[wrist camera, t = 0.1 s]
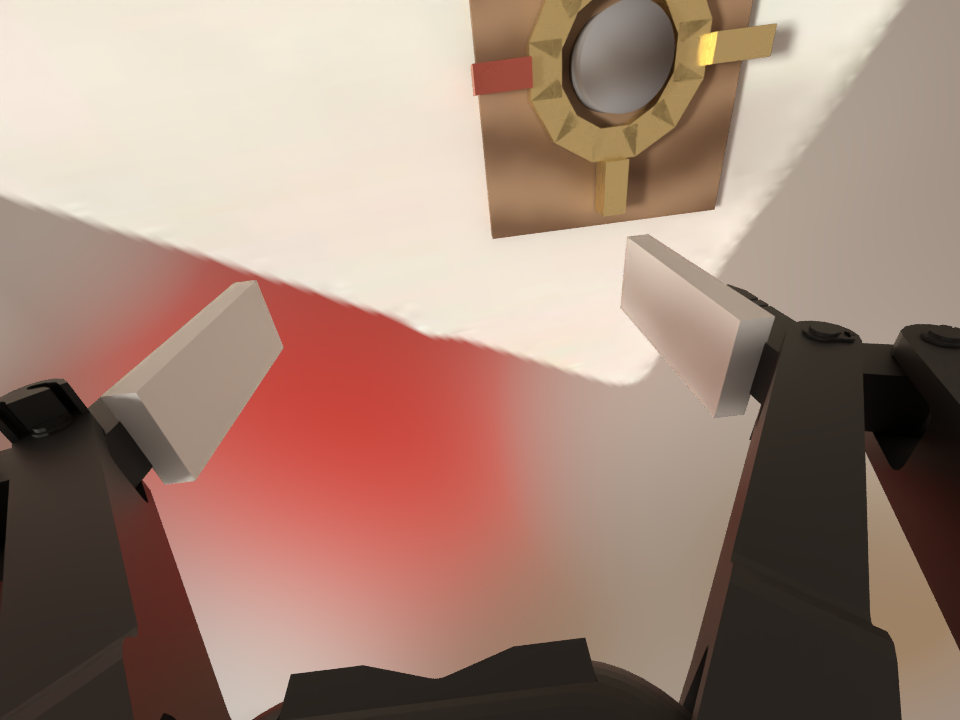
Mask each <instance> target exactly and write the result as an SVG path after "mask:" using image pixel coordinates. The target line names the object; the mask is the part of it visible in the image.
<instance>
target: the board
mask: <svg viewBox="0 0 960 720" xmlns="http://www.w3.org/2000/svg"><path fill="white" fill-rule="evenodd" d="M752 2H753V0H707V3H708V7H709V10H710V13H711V16H712V25H711V32H710V33H713V32H717V31H724V30H731V29H739V28H746V27H748V24H749V18H750V13H751V8H752ZM469 3H470V13H471V24H472V34H473V45H474V55H475V63H482V62H490V61H498V60H505V59H513V58H520V57H526V43H527V41H528V38H529V36H530V33H531V31H532V28H533V25H534V23H535V20H536V18H537V15H538V13H539V10H540V8H541V5H542V3H543V0H469ZM674 49H675V41H674V33H673V28H672V25H671V22H670V20H669V18H668V16H667V15H666V13H665V12H664V10H663V9H662V8H661V7H660V6H659V5H657V4H656V3H654V2H653V1H651V0H592V1H590V2H589V3H588V4H587V5H586V6H585V7H584V8H582V9H581V10H580V11H579V12H578V13H577V16H576V18H575V20H574V23H573V25H572V27H571V30H570V32H569V34H568V36H567V39H566V41H565V43H564V46H563V48H562V88H563V90H564V92H565V94H566V96H567V98H568V100H569V101H570V103H571V105H572V107H573V109H574V111H575V113H576V115H577V116H579V117H581V118H583V119H584V120H586V121H588V122H590V123H592V124H594V125H595V126H597V127H604V126H612V125H619V124H624V123H625V122H626V121H627V120H629V119H630V118H631V117H633V116H634V115H635V114H637V113H638V112H639V111H640V110H642V109H643V108H644V107H646V106H647V105H648V104H649V102H650V100H652V99H653V97H654V96H655V95H656V94H657V93H658V92H659V90H660V89H661V88H662V86H663V84H664V83H665V81H666V79H667V77H668V75H669V72H670V69H671V66H672V62H673V57H674ZM741 62H742V60H740V61H733V62H725V63H718V64H710V65H706V66H705V72H704V79H703V80H702V82H701V84H700V85H699V87H698V89H697V90H696V92H695V94H694V96H693V97H692V99H691V101H690V102H689V104H688V106H687V108H686V109H685V111H684V113H683V114H682V116H681V118H680V119H679V121H678V123H677V125H676V126H675V128H673V129H672V130H670V131H669V132H668V133H666V134H665V135H664V136H662V137H661V138H660V139H658V140H657V141H656V142H654V143H653V144H651V145H650V146H649V147H647V148H646V149H645V150H643V151H642V152H641V153H639V154H638V155H637V156H635V157H628V158H627V159H629V171H628V184H627V198H626V212H625V214H619V215H611V216H604V217H603V216H602V215H601V214H599V213H598V212H597V211H595V190H596V162H590V161H588V160H586V159H584V158H582V157H580V156H578V155H576V154H574V153H572V152H570V151H568V150H566V149H564V148H562V147H560V146H559V145H557V144H555V143H553V142H551V141H550V139H549V137H548V136H547V134H546V132H545V130H544V128H543V127H542V125H541V123H540V121H539V120H538V118H537V116H536V114H535V113H534V111H533V109H532V107H531V106H530V104H529V102H528V90H527V89H521V90H514V91H506V92H499V93H491V94H484V95H478V97H479V107H480V117H481V128H482V138H483V149H484V159H485V169H486V180H487V190H488V201H489V211H490V221H491V232H492V237H493V239H496V238H503V237H511V236H518V235H526V234H533V233H541V232H548V231H556V230H564V229H571V228H579V227H586V226H594V225H601V224H609V223H616V222H624V221H631V220H639V219H646V218H654V217H662V216H669V215H677V214H684V213H692V212H699V211H707V210H714V209H715V203H716V198H717V193H718V187H719V182H720V176H721V171H722V165H723V160H724V154H725V149H726V144H727V138H728V133H729V127H730V122H731V116H732V111H733V106H734V100H735V95H736V89H737V84H738V78H739V73H740V67H741Z"/></svg>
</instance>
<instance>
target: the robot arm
mask: <svg viewBox="0 0 960 720" xmlns="http://www.w3.org/2000/svg"><path fill="white" fill-rule="evenodd" d="M620 308H621V309H622V310H623V311H624V313H625V314H626V315H627V316H628V317H629V318H630V320H631V321H632V322H633V323H634V324H635V326H636V327H637V328H638V329H639V330H640V331H641V333H642V334H643V335H644V336H645V337H646V338H647V340H648V341H649V342H650V343H651V344H652V346H653V347H654V348H655V349H656V350H657V351H658V353H659V354H660V355H661V356H662V357H663V358H664V359H665V361H666V362H667V363H668V364H669V365H670V367H671V368H672V369H673V370H674V371H675V373H676V374H677V375H678V376H679V377H680V378H681V380H682V381H683V382H684V383H685V384H686V385H687V387H688V388H689V389H690V390H691V391H692V393H693V394H694V395H695V396H696V397H697V398H698V400H699V401H700V402H701V403H702V404H703V405H704V407H705V408H706V409H707V410H708V411H709V412H710V414H711V415H712V416H713V417H714V418H719V417H728V416H735V415H744V414H745V411H746V407H747V404H748V401H749V398H750V395H752V396H753V397H754V398H755V399H756V400H757V401H758V402H759V403H760V404H761V407H760V410H759V413H758V416H757V419H756V422H755V425H754V428H753V431H752V433H751V437H750V440H751V442H750V445H749V449H748V453H747V457H746V460H745V464H744V468H743V472H742V475H741V479H740V483H739V487H738V490H737V494H736V498H735V501H734V505H733V509H732V513H731V516H730V520H729V524H728V528H727V531H726V535H725V539H724V543H723V546H722V550H721V554H720V558H719V561H718V565H717V569H716V572H715V577H714V580H713V584H712V588H711V591H710V595H709V599H708V602H707V606H706V610H705V614H704V617H703V621H702V625H701V629H700V632H699V636H698V640H697V643H696V647H695V651H694V654H693V658H692V662H691V665H690V669H689V671H688V675H687V678H686V681H685V684H684V687H683V691H682V694H681V697H680V701H679V703H678V702H677V701H675V700H674V699H673V698H672V697H670V696H669V695H668V694H666V693H665V692H664V691H662V690H661V689H659V688H658V687H656V686H655V685H653V684H651V683H649V682H648V681H646V680H645V679H643V678H641V677H639V676H637V675H635V674H633V673H631V672H629V671H626V670H624V669H622V668H619V667H615V666H612V665H609V664H606V663H602V662H597V661H592V660H591V658H590V654H589V650H588V647H587V643H586V639H585V638H579V639H570V640H562V641H554V642H547V643H539V644H530V645H523V646H514V647H512V648H509V649H507V650H505V651H502V652H500V653H498V654H496V655H493V656H491V657H489V658H487V659H484V660H482V661H480V662H478V663H476V664H473V665H471V666H469V667H466V668H464V669H462V670H460V671H457V672H455V673H453V674H450V675H448V676H446V677H443V678H439V679H431V678H426V677H421V676H415V675H410V674H405V673H400V672H395V671H390V670H384V669H379V668H374V667H369V666H364V665H362V666H355V667H347V668H338V669H331V670H323V671H314V672H306V673H298V674H291V676H290V680H289V683H288V687H287V691H286V695H285V698H284V702H281V703H279V704H277V705H275V706H274V707H272V708H270V709H269V710H267V711H265V712H263V713H262V714H260V715H258V716H257V717H256V718H254V719H253V720H902V719H901V707H900V692H899V678H898V665H897V658H896V652H895V646H894V643H893V641H892V639H891V637H890V635H889V634H888V632H887V631H884V630H882V629H880V628H878V627H875V626H873V625H872V623H871V617H870V600H869V568H868V567H869V566H868V531H867V497H866V463H865V452H866V454H867V456H868V458H869V460H870V462H871V464H872V466H873V469H874V471H875V473H876V475H877V477H878V479H879V481H880V483H881V485H882V488H883V490H884V492H885V494H886V496H887V498H888V500H889V502H890V504H891V506H892V509H893V511H894V513H895V515H896V517H897V519H898V521H899V523H900V525H901V527H902V530H903V532H904V534H905V536H906V538H907V540H908V542H909V544H910V547H911V549H912V551H913V553H914V555H915V557H916V559H917V561H918V563H919V565H920V568H921V570H922V572H923V574H924V576H925V578H926V580H927V582H928V585H929V587H930V588H931V591H932V593H933V595H934V597H935V599H936V601H937V603H938V606H939V608H940V610H941V612H942V614H943V616H944V618H945V620H946V622H947V624H948V627H949V629H950V631H951V633H952V635H953V637H954V639H955V641H956V644H957V645H958V648H959V650H960V328H956V327H955V328H952V326H947V325H939V326H938V325H931V324H915V325H910V326H906V327H904V328H903V329H902V330H901V331H900V333H899V335H898V337H897V339H896V342H895V343H894V345H889V344H868V343H862V340H861V339H860V337H859V335H857V334H856V333H854V332H853V331H851V330H849V329H847V328H844V327H842V326H839V325H835V324H831V323H827V322H819V321H799V322H796V321H794V320H792V319H791V318H789V317H788V316H786V315H784V314H783V313H781V312H779V311H778V310H776V309H775V308H773V307H771V306H768V304H767V303H765V302H764V301H762V300H758V298H757V297H756V296H754V295H752V294H751V293H749V292H748V291H746V290H743V289H740V288H737V287H734V286H731V285H726V284H724V283H723V282H721V281H720V280H718V279H717V278H715V277H713V276H712V275H710V274H709V273H707V272H706V271H704V270H703V269H701V268H700V267H698V266H696V265H695V264H693V263H692V262H690V261H689V260H687V259H686V258H684V257H683V256H681V255H680V254H678V253H676V252H675V251H673V250H672V249H670V248H669V247H667V246H666V245H664V244H663V243H661V242H660V241H658V240H656V239H655V238H653V237H652V236H650V235H649V234H647V235H638V236H630V237H627V242H626V253H625V264H624V274H623V285H622V296H621V307H620ZM282 349H283V345H282V343H281V340H280V338H279V335H278V333H277V330H276V328H275V325H274V323H273V320H272V318H271V315H270V313H269V311H268V308H267V306H266V303H265V301H264V298H263V296H262V293H261V291H260V288H259V286H258V283H257V281H256V280H254V281H245V282H237V283H234V284H232V285H231V286H230V287H229V288H228V289H226V291H224V292H223V293H222V294H221V295H219V296H218V297H217V298H216V299H215V300H214V301H212V302H211V303H210V304H209V305H208V306H206V307H205V308H204V309H203V310H202V311H201V312H199V314H197V315H196V316H195V317H194V318H192V319H191V320H190V321H189V322H188V323H187V324H185V325H184V326H183V327H182V328H181V329H180V330H178V331H177V332H176V333H175V334H174V335H172V336H171V337H170V338H169V339H168V340H167V341H166V342H164V343H163V344H162V345H161V346H159V347H158V348H157V349H156V350H155V351H154V352H152V353H151V354H150V355H149V356H148V357H147V358H145V359H144V360H143V361H142V362H141V363H139V364H138V365H137V366H136V367H135V368H134V369H132V370H131V371H130V372H129V373H128V374H127V375H125V376H124V377H123V378H122V379H121V380H119V381H118V382H117V383H116V384H115V385H114V386H112V387H111V388H110V389H109V390H108V391H107V392H105V393H104V394H103V395H102V396H101V397H100V398H99V399H98V400H97V401H96V402H95V403H93V404H92V405H91V406H90V407H89V408H87V407H86V406H85V405H84V403H83V402H82V401H81V399H80V398H79V397H78V396H77V394H76V393H75V392H74V390H73V389H72V388H71V386H70V385H69V384H68V383H67V382H66V381H65V380H64V379H49V380H44V381H40V382H36V383H33V384H30V385H26V386H24V387H22V388H19V389H17V390H14V391H12V392H10V393H8V394H6V395H4V396H2V397H0V431H1V432H2V433H3V434H4V435H5V436H6V437H7V439H8V440H9V441H10V442H11V443H12V448H10V449H7V450H3V451H0V720H231V718H230V716H229V713H228V711H227V708H226V705H225V702H224V699H223V697H222V694H221V691H220V688H219V685H218V682H217V679H216V677H215V674H214V671H213V668H212V665H211V662H210V659H209V657H208V654H207V651H206V648H205V645H204V642H203V639H202V637H201V634H200V631H199V628H198V625H197V622H196V619H195V616H194V614H193V611H192V608H191V605H190V602H189V599H188V597H187V594H186V591H185V588H184V586H183V582H182V579H181V576H180V573H179V571H178V568H177V565H176V562H175V559H174V556H173V554H172V551H171V548H170V545H169V542H168V539H167V537H166V534H165V531H164V528H163V525H162V522H161V519H160V517H159V513H158V511H157V508H156V505H155V502H154V499H153V496H152V493H151V490H150V489H149V488H148V487H147V485H146V484H145V483H144V481H143V480H142V479H143V478H144V477H145V476H146V474H147V473H148V472H149V471H150V469H151V468H153V469H154V471H155V472H156V473H157V475H158V476H159V477H160V479H161V480H162V482H163V483H164V484H173V483H182V482H190V481H195V480H196V479H197V477H198V476H199V474H200V473H201V471H202V470H203V468H204V467H205V465H206V464H207V462H208V461H209V459H210V458H211V456H212V455H213V453H214V452H215V450H216V449H217V447H218V446H219V444H220V443H221V441H222V440H223V438H224V437H225V435H226V434H227V432H228V431H229V429H230V428H231V426H232V425H233V423H234V422H235V420H236V419H237V417H238V416H239V414H240V413H241V411H242V410H243V408H244V406H245V405H246V403H247V402H248V401H249V399H250V398H251V396H252V395H253V393H254V392H255V390H256V388H257V387H258V385H259V384H260V382H261V381H262V379H263V378H264V376H265V375H266V373H267V372H268V370H269V369H270V367H271V366H272V364H273V363H274V361H275V360H276V358H277V357H278V355H279V354H280V352H281V351H282Z"/></svg>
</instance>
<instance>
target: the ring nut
mask: <svg viewBox="0 0 960 720" xmlns="http://www.w3.org/2000/svg"><path fill="white" fill-rule="evenodd" d="M590 1H592V0H543V3H542V5H541V8H540V10H539V13H538V15H537V18H536V20H535V23H534V25H533V28H532V31H531V33H530V36H529V38H528V41H527V43H526V57H520V58H513V59H505V60H498V61H490V62H482V63H475V64H472V65H471V76H472V86H473V96H476V95H484V94H491V93H499V92H506V91H514V90H521V89H527V90H528V102H529V104H530V106H531V107H532V109H533V111H534V113H535V114H536V116H537V118H538V120H539V121H540V123H541V125H542V127H543V128H544V130H545V132H546V134H547V136H548V137H549V139H550V141H551V142H553V143H555V144H557V145H559V146H560V147H562V148H564V149H566V150H568V151H570V152H572V153H574V154H576V155H578V156H580V157H582V158H584V159H586V160H588V161H590V162H596V190H595V211H597V212H598V213H599V214H601V215H602V216H603V217H604V216H611V215H619V214H625V212H626V198H627V184H628V171H629V159H627V158H628V157H635V156H637V155H638V154H639V153H641V152H642V151H643V150H645V149H646V148H647V147H649V146H650V145H651V144H653V143H654V142H656V141H657V140H658V139H660V138H661V137H662V136H664V135H665V134H666V133H668V132H669V131H670V130H672V129H673V128H675V126H676V125H677V123H678V121H679V119H680V118H681V116H682V114H683V113H684V111H685V109H686V108H687V106H688V104H689V102H690V101H691V99H692V97H693V96H694V94H695V92H696V90H697V89H698V87H699V85H700V84H701V82H702V80H703V79H704V72H705V66H706V65H710V64H718V63H725V62H733V61H740V60H748V59H755V58H762V57H769V56H770V55H771V50H772V45H773V41H774V36H775V31H776V26H777V24H769V25H761V26H754V27H746V28H739V29H731V30H724V31H717V32H713V33H710V32H711V25H712V16H711V13H710V10H709V7H708V3H707V0H651V1H653V2H654V3H656V4H657V5H659V6H660V7H661V8H662V9H663V10H664V12H665V13H666V15H667V16H668V18H669V20H670V22H671V25H672V28H673V33H674V41H675V49H674V57H673V62H672V66H671V69H670V72H669V75H668V77H667V79H666V81H665V83H664V84H663V86H662V88H661V89H660V90H659V92H658V93H657V94H656V95H655V96H654V97H653V99H652V100H650V102H649V104H648V105H647V106H646V107H644V108H643V109H642V110H640V111H639V112H638V113H637V114H635V115H634V116H633V117H631V118H630V119H629V120H627V121H626V122H625V123H624V124H619V125H612V126H604V127H597V126H595V125H594V124H592V123H590V122H588V121H586V120H584V119H583V118H581V117H579V116H577V115H576V113H575V111H574V109H573V107H572V105H571V103H570V101H569V100H568V98H567V96H566V94H565V92H564V90H563V88H562V48H563V46H564V43H565V41H566V39H567V36H568V34H569V32H570V30H571V27H572V25H573V23H574V20H575V18H576V16H577V13H578V12H579V11H580V10H581V9H582V8H584V7H585V6H586V5H587V4H588V3H589V2H590Z"/></svg>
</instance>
